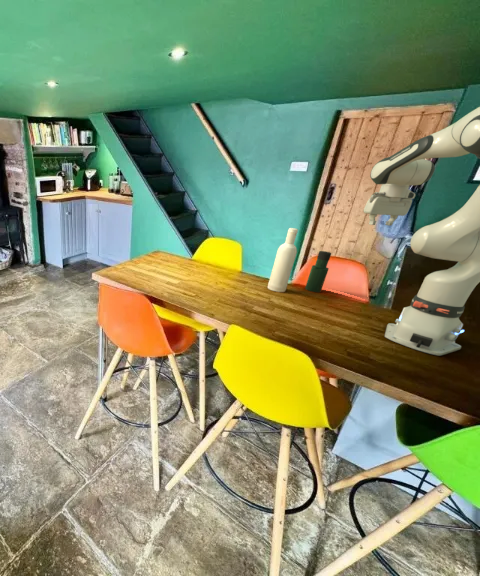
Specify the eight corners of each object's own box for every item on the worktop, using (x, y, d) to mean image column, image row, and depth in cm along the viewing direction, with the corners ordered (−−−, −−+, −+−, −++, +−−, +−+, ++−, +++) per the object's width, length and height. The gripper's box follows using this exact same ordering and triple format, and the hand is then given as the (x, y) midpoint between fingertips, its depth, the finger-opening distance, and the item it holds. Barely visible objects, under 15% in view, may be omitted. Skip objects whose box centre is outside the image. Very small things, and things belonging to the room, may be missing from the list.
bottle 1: (286, 293, 143) (305, 230, 133) (267, 290, 146) (284, 228, 136) (284, 288, 150) (302, 228, 140) (266, 285, 153) (282, 226, 143)
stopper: (323, 271, 144) (328, 253, 141) (312, 268, 148) (317, 251, 145) (327, 269, 147) (333, 252, 144) (316, 267, 150) (321, 250, 147)
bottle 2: (317, 293, 147) (327, 261, 141) (302, 288, 152) (312, 258, 146) (323, 291, 150) (333, 260, 145) (308, 287, 155) (318, 257, 150)
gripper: (381, 192, 126) (368, 225, 130) (418, 194, 130) (405, 226, 134) (365, 191, 131) (354, 223, 136) (402, 193, 135) (390, 224, 140)
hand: (380, 225), depth 135 cm, fingers open, 8 cm apart
